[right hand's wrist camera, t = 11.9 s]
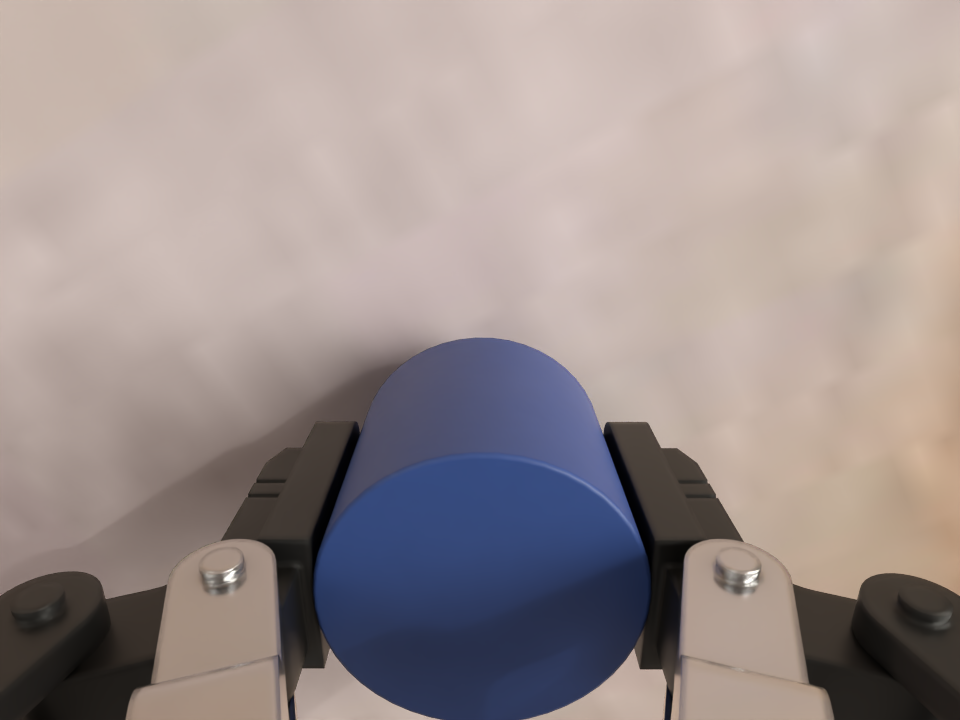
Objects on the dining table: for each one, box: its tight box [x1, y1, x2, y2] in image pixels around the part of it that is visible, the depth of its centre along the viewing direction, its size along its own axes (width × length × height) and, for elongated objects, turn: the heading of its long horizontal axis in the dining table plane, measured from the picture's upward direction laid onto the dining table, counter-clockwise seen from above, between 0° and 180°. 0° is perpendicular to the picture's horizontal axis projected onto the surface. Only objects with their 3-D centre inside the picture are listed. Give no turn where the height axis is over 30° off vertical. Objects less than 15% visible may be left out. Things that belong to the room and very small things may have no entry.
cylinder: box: [313, 338, 651, 720], centre depth 11 cm, size 4×4×4 cm
